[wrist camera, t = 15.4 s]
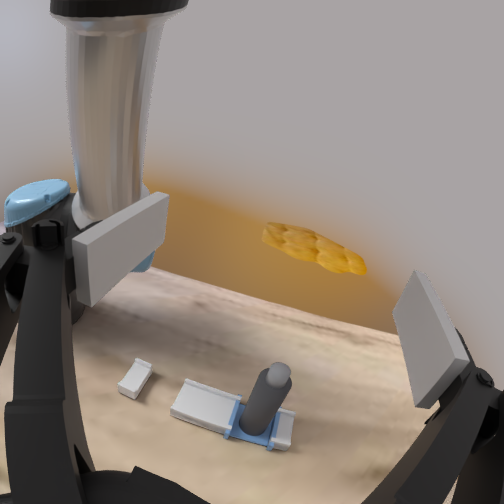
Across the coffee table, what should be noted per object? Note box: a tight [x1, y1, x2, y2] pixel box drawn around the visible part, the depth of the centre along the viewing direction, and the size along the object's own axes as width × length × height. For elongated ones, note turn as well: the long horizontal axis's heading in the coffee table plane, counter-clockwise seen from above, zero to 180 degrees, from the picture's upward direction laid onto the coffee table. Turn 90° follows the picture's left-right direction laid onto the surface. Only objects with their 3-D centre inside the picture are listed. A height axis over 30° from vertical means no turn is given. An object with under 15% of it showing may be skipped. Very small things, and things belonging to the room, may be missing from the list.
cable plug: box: [239, 362, 292, 436], centre depth 35 cm, size 4×4×13 cm
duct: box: [117, 358, 296, 451], centre depth 39 cm, size 25×7×2 cm, turn 77°
